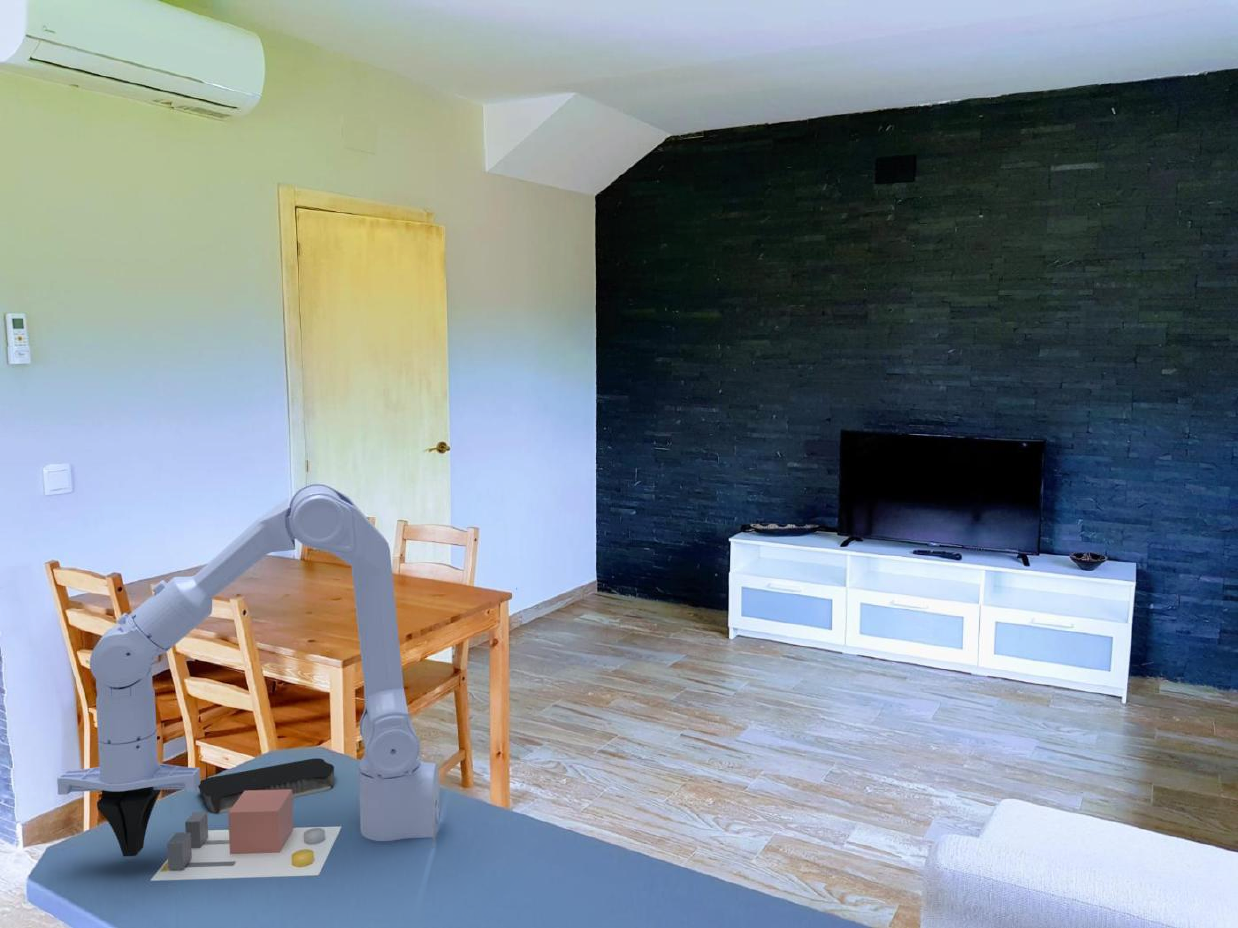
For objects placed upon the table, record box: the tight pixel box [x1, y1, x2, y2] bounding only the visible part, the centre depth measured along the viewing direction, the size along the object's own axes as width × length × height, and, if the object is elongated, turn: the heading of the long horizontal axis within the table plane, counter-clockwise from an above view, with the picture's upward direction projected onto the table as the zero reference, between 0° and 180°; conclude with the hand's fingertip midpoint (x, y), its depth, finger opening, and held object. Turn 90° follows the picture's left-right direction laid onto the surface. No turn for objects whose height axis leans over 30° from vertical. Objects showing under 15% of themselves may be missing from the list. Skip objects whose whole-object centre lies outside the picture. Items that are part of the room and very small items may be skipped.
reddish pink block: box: [227, 789, 294, 854], centre depth 109 cm, size 6×6×5 cm
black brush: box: [197, 758, 335, 815], centre depth 123 cm, size 16×8×4 cm, turn 120°
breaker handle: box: [166, 832, 192, 870], centre depth 104 cm, size 2×2×3 cm
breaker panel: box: [150, 811, 342, 882], centre depth 107 cm, size 18×11×4 cm, turn 94°
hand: (133, 851), depth 103 cm, fingers closed
